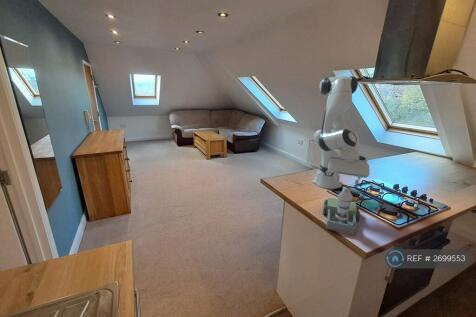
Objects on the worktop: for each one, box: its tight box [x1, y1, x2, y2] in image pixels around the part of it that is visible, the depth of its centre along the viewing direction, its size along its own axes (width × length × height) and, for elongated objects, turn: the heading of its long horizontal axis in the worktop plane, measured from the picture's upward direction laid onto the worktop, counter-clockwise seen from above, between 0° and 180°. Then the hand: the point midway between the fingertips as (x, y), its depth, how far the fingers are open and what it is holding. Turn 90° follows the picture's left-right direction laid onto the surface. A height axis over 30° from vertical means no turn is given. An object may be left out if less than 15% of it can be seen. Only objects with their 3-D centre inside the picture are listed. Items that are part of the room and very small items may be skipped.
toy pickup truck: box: [322, 197, 361, 236], centre depth 115 cm, size 23×17×6 cm
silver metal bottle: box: [334, 184, 354, 224], centre depth 108 cm, size 6×7×20 cm
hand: (346, 182), depth 117 cm, fingers open, 8 cm apart
